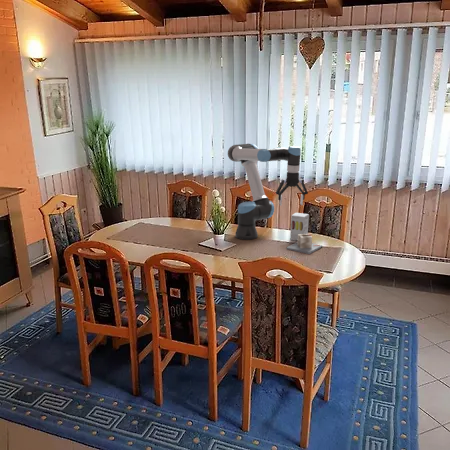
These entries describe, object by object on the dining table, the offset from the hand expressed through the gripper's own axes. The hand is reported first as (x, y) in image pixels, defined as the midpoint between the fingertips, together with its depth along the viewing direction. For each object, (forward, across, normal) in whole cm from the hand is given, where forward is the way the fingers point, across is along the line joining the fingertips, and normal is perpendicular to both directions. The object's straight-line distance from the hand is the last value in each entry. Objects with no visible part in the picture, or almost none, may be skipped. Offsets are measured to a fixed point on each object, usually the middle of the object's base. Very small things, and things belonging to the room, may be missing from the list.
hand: (290, 205), depth 291 cm
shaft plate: (+25, +7, -11) cm, 28 cm away
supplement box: (+26, +10, +9) cm, 29 cm away
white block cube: (+24, +7, -11) cm, 27 cm away
